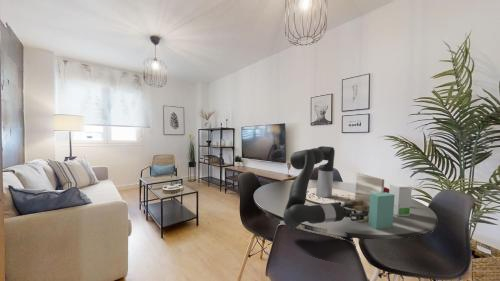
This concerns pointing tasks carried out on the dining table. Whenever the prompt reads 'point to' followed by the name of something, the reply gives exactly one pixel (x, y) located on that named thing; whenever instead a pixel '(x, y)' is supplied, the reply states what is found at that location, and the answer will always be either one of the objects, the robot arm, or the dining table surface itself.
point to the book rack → (365, 192)
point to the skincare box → (401, 199)
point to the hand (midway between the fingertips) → (359, 209)
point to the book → (381, 210)
